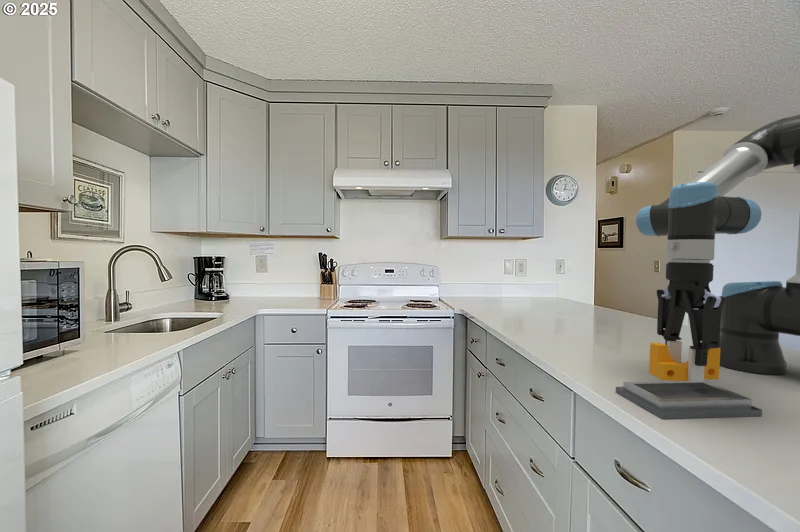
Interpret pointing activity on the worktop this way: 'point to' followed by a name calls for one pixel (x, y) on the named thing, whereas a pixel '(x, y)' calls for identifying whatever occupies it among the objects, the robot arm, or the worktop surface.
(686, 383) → the rail plate
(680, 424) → the worktop surface
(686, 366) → the pipe clamp
